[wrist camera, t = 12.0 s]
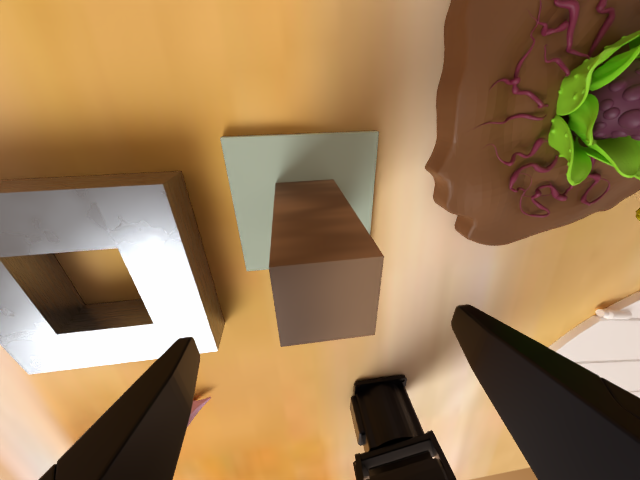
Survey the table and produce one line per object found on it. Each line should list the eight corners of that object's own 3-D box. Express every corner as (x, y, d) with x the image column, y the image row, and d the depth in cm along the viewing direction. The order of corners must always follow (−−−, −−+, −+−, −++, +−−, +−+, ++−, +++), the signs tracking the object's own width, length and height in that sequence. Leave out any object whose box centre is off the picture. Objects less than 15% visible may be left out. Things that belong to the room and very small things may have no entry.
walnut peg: (333, 179, 18) (383, 256, 9) (333, 230, 20) (374, 334, 11) (275, 182, 17) (268, 267, 8) (281, 234, 19) (280, 346, 10)
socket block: (181, 170, 17) (162, 184, 14) (224, 323, 23) (217, 351, 21) (-64, 183, 15) (-136, 200, 12) (58, 341, 22) (28, 374, 19)
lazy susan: (615, 249, 26) (658, 268, 23) (847, 263, 33) (902, 279, 30) (462, 443, 45) (475, 468, 42) (631, 426, 52) (652, 446, 49)
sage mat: (375, 130, 17) (378, 131, 16) (365, 256, 22) (367, 260, 21) (222, 136, 16) (220, 137, 15) (247, 266, 21) (246, 271, 20)
